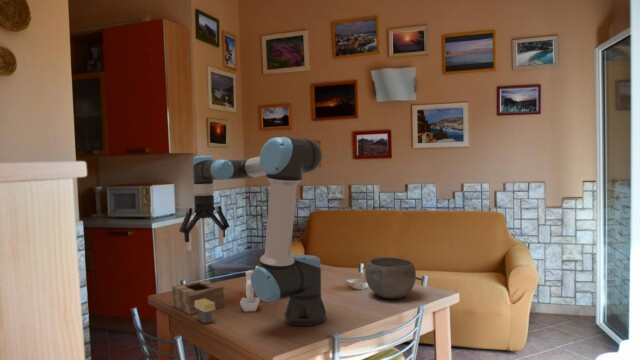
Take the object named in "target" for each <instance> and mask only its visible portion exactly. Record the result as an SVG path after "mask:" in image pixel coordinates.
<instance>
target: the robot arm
mask: <svg viewBox="0 0 640 360" xmlns="http://www.w3.org/2000/svg"><path fill="white" fill-rule="evenodd" d="M323 154H324V153H323V150H322V148H321V146H320V145H319V143H317V142H316V141H315V140H313V139H311V138H308V137H307V138H301V137H300V138H299V137H287V136H279V137H276V136H275V137H272V138H269V139H268V140H267V141H266V142H265V143H264V145H263V146H262V148H261V150H260V153H259V156H255V157H251V158H247V159H213V156H211V155H195V156H194V157H193V159H192V160H193V161H192V162H193V165H192V170H193V171H192V173H193V193H194V196H193V197H194V198H193V199H194V207H188V208H186V214H185V217H184V219H183V221H182V223H181V226H180V228H179V232H180V233H183V234H184V236H183V237H184V242H185V243H186V250H187V251H189V252H190V251H193V247H192V233H191V231H192V230H193V228H194V227H195V225H196V224H197V223H198V221H199V220H200V219H211V220H212V221H213V222H214V223H215V224H216V226H218V228H219V229H218V231H217V232H218V246H219V247H224V246H225V245H224V238H225V237H226V231H227V229H228V228H230V224H229V223H228V220H227V218H226V216H225V214H224V212H223V211H222V210H223V209H222V206H221V205H216V206H215V198H214V197H215V195H214V191H215V189H214V181H215V180H217V181H218V180H219V181H221V180H222V181H225V180H244V179H246V180H249V179H250V180H251V179H255V178H257V177H262V176H263V177H264V176H265V178H266V179H267V180H268V182H269V183H270V185H269V197H268V211H267V220H266V233H265V248H264V254H263V255H261V256H260V258H259V265H258V266H257V267H255V268H253V269H252V274H251V284H252V288H253V292H254V293H255V294H254V295H255V296H257V297H259V298H260V300H261V301H263V302H273V301H278V300H281V299H283V298H287V297H288V300H287V303H286V307H285V312H284V315H283V317H284V318H283V319H284V320H283V321H284V322H285V323H286V324H288V325H290V326H295V327H313V326H316V325H321V324H323V323H325V322H326V320H327V310H326V308H325V305H324V301H323V298H322V267H321V259H320V258H319V257H318V256H315V255H309V254H296V253H295V254H292V241H293V231H294V219H295V207H296V195H297V186H298V184H300V183H302V181H303V174H306V173H311V172H314V171H316V170H317V169H318V168H319V167H320V166H321V164H322V161H323V156H324V155H323ZM214 212H216V214H217V215H218V217H217V216H216V215H215V213H214ZM193 214H194V216H193V218H192V215H193ZM191 218H192V219H191ZM219 219H220V220H219Z"/></svg>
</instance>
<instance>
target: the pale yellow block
mask: <svg viewBox="0 0 640 360" xmlns="http://www.w3.org/2000/svg"><path fill="white" fill-rule="evenodd" d="M195 308H197V309H199V310H201V311H203V312H209V311H211V312H212V311H215V310H216V309H215V303H214V302H212V301H210V300H207V299H205V298H204V299H200V300H195Z"/></svg>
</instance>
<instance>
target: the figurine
mask: <svg viewBox="0 0 640 360" xmlns="http://www.w3.org/2000/svg"><path fill="white" fill-rule="evenodd" d="M252 271H253V269H251V270H250V269H249V270H247V271H245V276H246V278H245V279H246V281H245V282H246V283H245V296H246V297H241V299H240V302H239V305H240V307H241V308H242V311H243V312H245V313H247V312H256V311H257V309H258V306H259V304H260V300H261V299H260V298H259V297H258V296H257V297H254V295H255V294H254V290H253V288H252V284H251V274H252Z"/></svg>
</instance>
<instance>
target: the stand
mask: <svg viewBox="0 0 640 360" xmlns="http://www.w3.org/2000/svg"><path fill="white" fill-rule="evenodd" d="M198 321H200V322H202V323H204V324H209V323H212V311H209V312H203V311H201V310H199V313H198Z"/></svg>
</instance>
